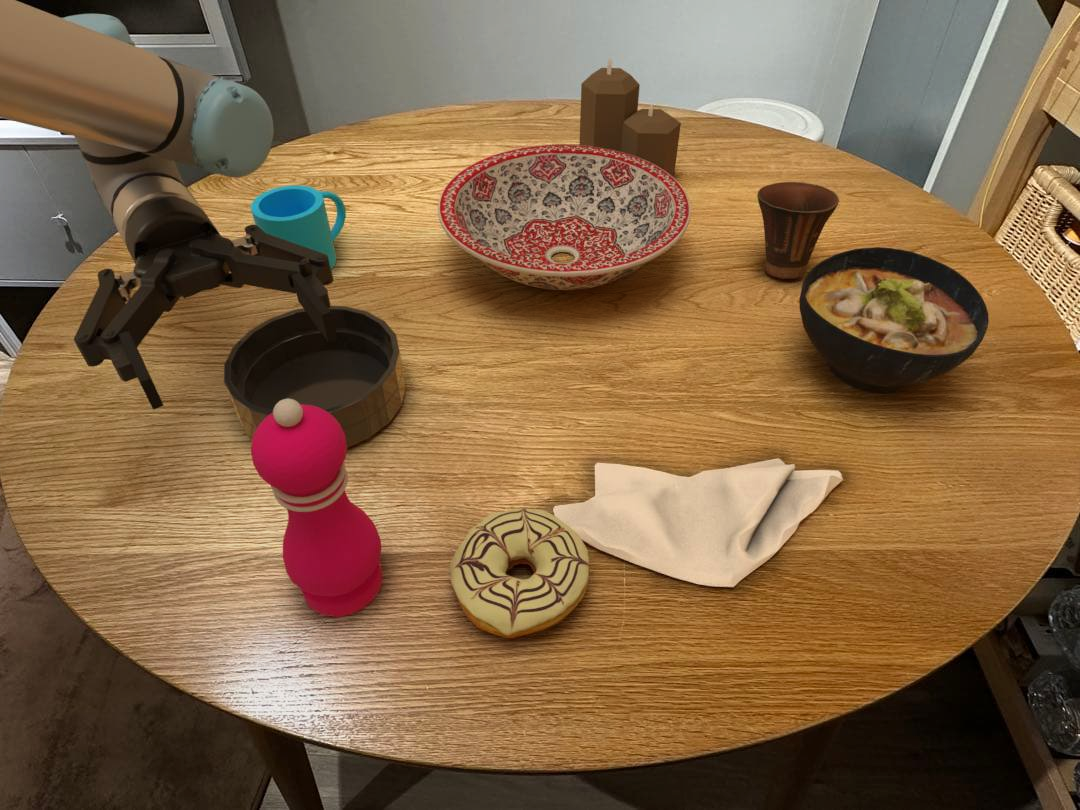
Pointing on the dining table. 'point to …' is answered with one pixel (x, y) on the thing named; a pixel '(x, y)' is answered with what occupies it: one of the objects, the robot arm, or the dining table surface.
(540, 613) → the decorated donut
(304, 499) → the pepper mill
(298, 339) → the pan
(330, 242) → the mug
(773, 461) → the cloth
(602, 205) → the ceramic bowl
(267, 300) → the dining table surface
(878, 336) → the bowl
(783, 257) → the cup
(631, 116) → the candle
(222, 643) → the dining table surface
